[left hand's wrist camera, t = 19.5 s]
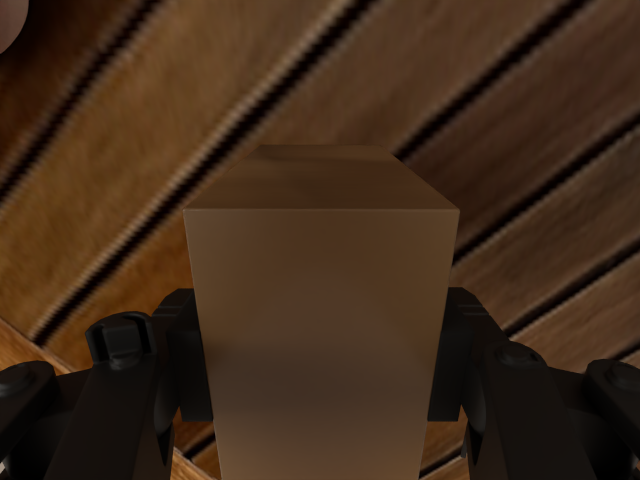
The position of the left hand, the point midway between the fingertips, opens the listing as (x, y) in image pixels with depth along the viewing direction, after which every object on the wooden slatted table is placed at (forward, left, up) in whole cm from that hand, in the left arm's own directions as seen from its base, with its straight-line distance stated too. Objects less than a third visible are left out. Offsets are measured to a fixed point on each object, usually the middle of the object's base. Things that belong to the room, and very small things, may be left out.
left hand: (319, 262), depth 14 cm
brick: (0, 0, -4) cm, 4 cm away
